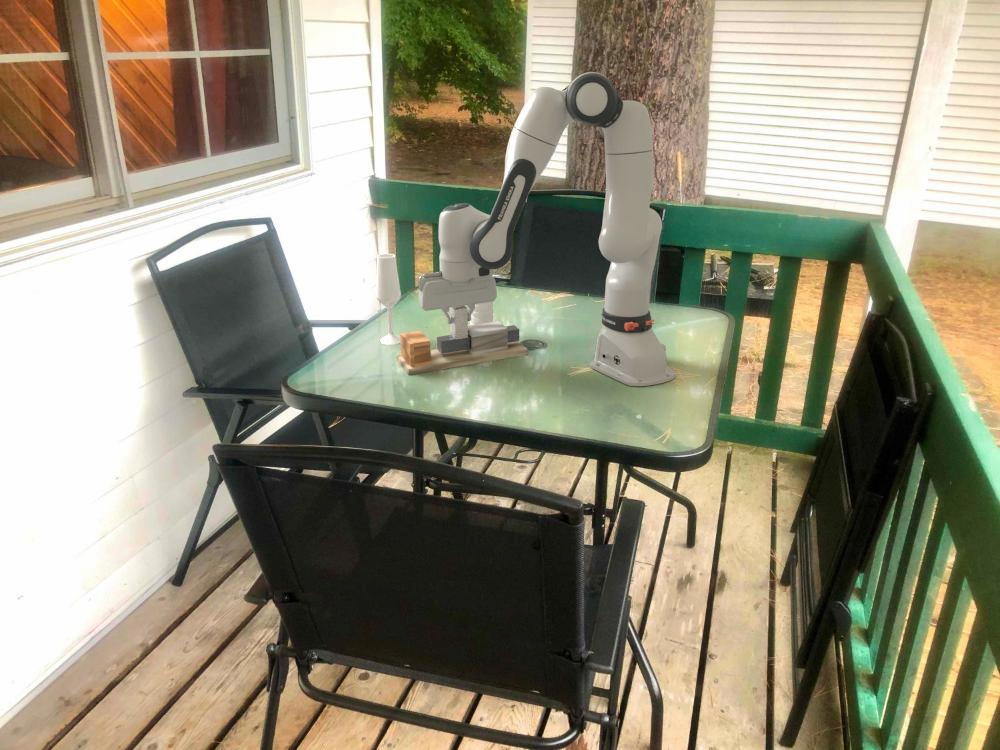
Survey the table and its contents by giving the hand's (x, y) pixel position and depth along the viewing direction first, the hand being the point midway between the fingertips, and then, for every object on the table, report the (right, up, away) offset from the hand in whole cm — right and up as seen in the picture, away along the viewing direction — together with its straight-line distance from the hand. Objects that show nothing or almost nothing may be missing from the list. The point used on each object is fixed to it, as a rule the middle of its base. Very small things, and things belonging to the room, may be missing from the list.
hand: (458, 321), depth 198 cm
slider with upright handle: (+5, -6, +5) cm, 9 cm away
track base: (+1, -9, +4) cm, 10 cm away
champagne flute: (-20, -4, +16) cm, 26 cm away
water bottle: (+6, -3, +20) cm, 21 cm away
